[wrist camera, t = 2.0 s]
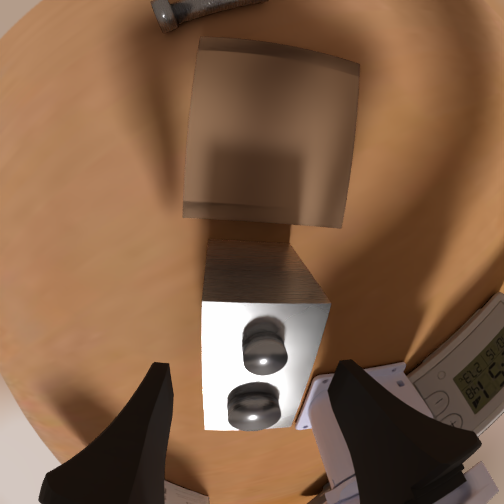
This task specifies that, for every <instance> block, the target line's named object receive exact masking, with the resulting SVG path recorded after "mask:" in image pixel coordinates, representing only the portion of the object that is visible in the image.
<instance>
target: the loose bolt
mask: <svg viewBox="0 0 504 504" xmlns="http://www.w3.org/2000/svg"><path fill="white" fill-rule="evenodd" d="M266 1H268V0H181V1H178V2H175V3H172V4H169V2H168V0H153V1H151V5H152V8H153V10H154V13H155V15H156V18H157V20H158V23H159V25H160V27H161V30H162V32H163V33H166V32H168V31H171V30H174V29H176V28H178V25H177V24H180V23H183V22H186V21H189V20H192V19H195V18H198V17H201V16H205V15H208V14H211V13H215V12H219V11H223V10H227V9H231V8H235V7H239V6H244V5H249V4H254V3H260V2H266Z"/></svg>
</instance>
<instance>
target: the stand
mask: <svg viewBox="0 0 504 504" xmlns="http://www.w3.org/2000/svg"><path fill="white" fill-rule="evenodd" d="M359 73H360V64H358V63H355V62H352V61H349V60H345V59H342V58H339V57H335V56H332V55H328V54H324V53H320V52H316V51H312V50H308V49H303V48H298V47H293V46H288V45H283V44H277V43H270V42H263V41H256V40H247V39H236V38H222V37H200V41H199V47H198V53H197V60H196V66H195V73H194V81H193V88H192V96H191V105H190V114H189V124H188V135H187V146H186V160H185V175H184V195H183V218H199V219H218V220H236V221H252V222H266V223H280V224H293V225H306V226H318V227H329V228H340V229H341V228H342V223H343V217H344V212H345V206H346V200H347V193H348V187H349V180H350V173H351V166H352V158H353V149H354V141H355V131H356V120H357V108H358V93H359Z"/></svg>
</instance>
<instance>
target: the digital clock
mask: <svg viewBox="0 0 504 504" xmlns="http://www.w3.org/2000/svg"><path fill="white" fill-rule="evenodd" d="M407 378H408V379H409V381H410V382H411V383H412V385H413V386H414V388H415V389H416V391H417V392H418V393H419V395H420V396H421V398H422V399H423V401H424V402H425V404H426V405H427V407H428V408H429V410H430V411H431V413H432V415H433V418H434V419H435V420H437V421H440V422H442V423H445V424H448V425H451V426H454V427H457V428H461V429H465V430H469V431H474V432H475V433H476V435H477V437H479V436H480V435H481V434H482V433H483V432H484V431H485V430H486V429H487V428H489V427H490V426H491V425H492V424H493V423H494V422H495V421H496V420H497V419H498V418H499V417H500V416H501V415H502V414H503V413H504V294H503V293H501V292H497V293H496V294H494V295H493V296H492V298H491V299H490V300H489V301H488V302H487V303H486V304H485V305H484V307H483V308H482V309H480V308H479V309H478V310H477V312H476V313H475V314H474V315H473V316H472V317H471V318H470V319H469V320H468V321H467V322H466V323H465V324H464V325H463V326H462V327H461V328H460V329H459V330H458V331H456V332H455V333H454V334H453V335H452V336H451V337H450V338H449V339H448V340H447V341H446V342H444V343H443V344H442V345H441V346H440V347H439V348H438V349H436V350H435V351H434V352H433V353H432V354H431V355H429V356H428V357H427V358H426V359H424V360H423V363H422V364H421V365H420V366H419V367H417V368H416V369H415V370H413V371H412V372H411V373H409V374H408V375H407Z"/></svg>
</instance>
